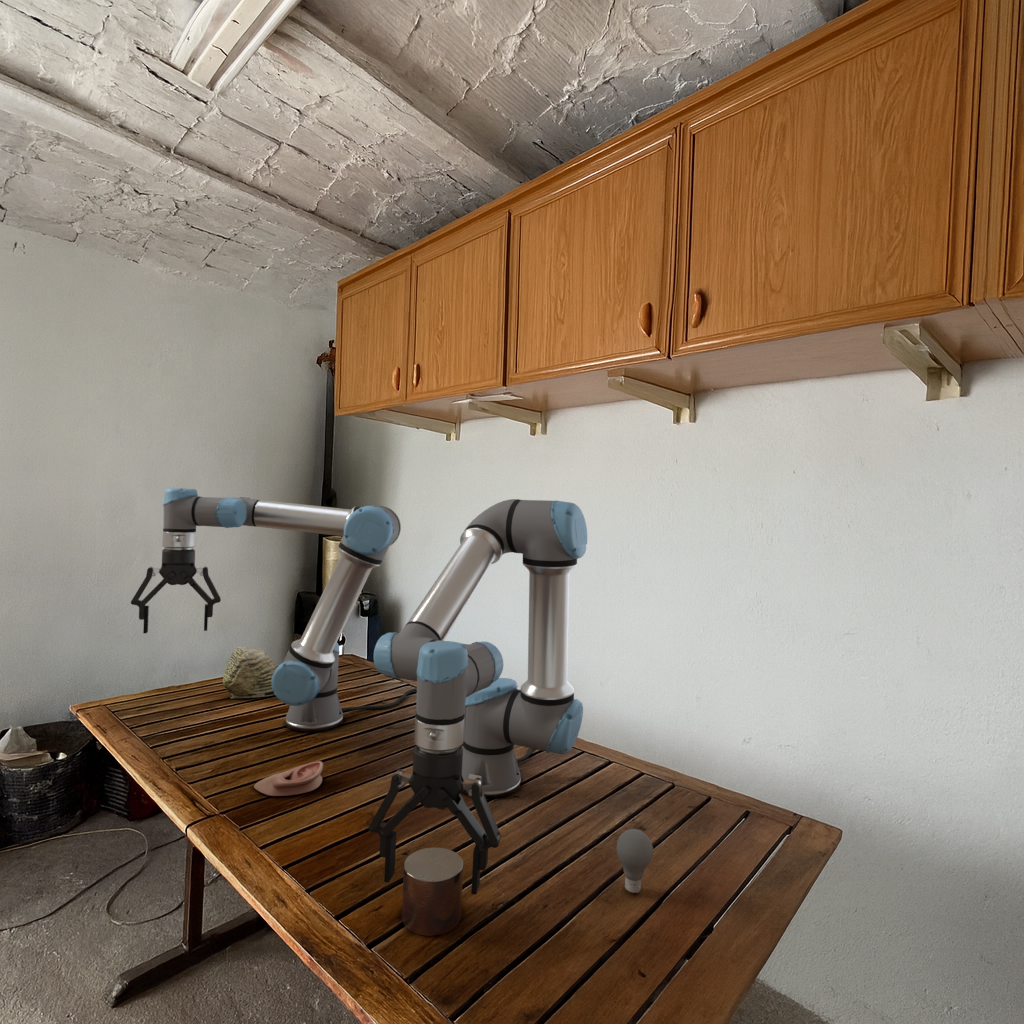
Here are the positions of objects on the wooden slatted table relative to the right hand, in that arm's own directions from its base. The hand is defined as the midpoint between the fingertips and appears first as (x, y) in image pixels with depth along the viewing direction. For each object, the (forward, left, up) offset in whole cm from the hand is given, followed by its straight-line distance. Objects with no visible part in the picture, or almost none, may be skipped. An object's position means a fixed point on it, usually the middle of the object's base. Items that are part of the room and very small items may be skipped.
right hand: (432, 883), depth 97 cm
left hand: (+19, -98, +22) cm, 102 cm away
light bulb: (-31, +13, -5) cm, 34 cm away
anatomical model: (+3, -55, -5) cm, 55 cm away
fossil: (-8, -122, -5) cm, 122 cm away
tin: (0, 0, -5) cm, 5 cm away
